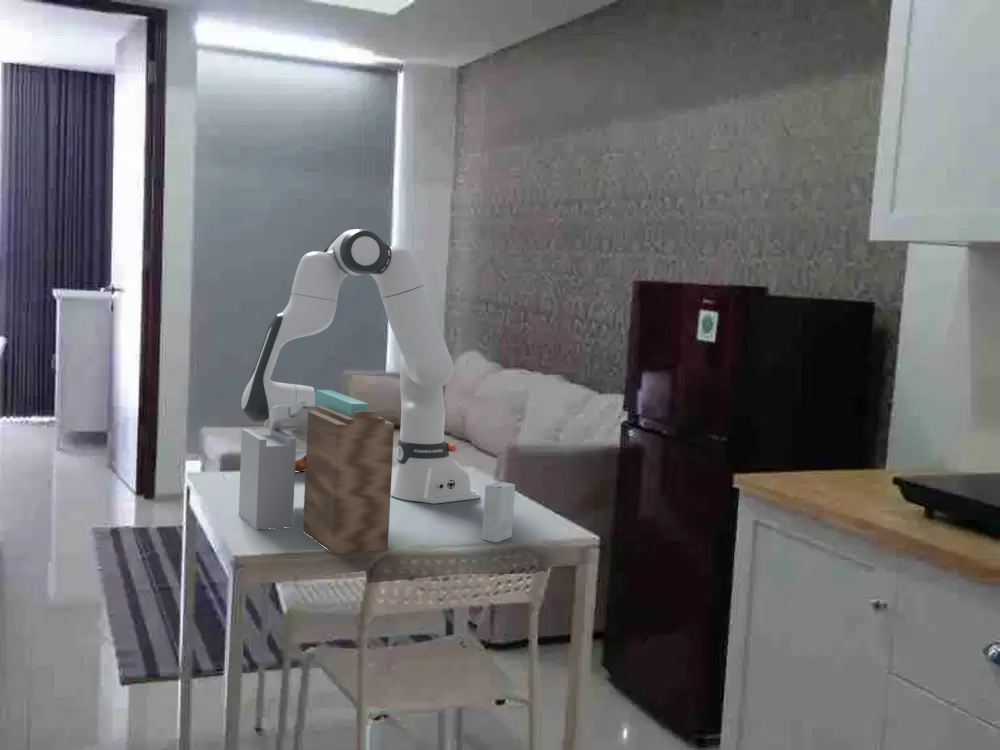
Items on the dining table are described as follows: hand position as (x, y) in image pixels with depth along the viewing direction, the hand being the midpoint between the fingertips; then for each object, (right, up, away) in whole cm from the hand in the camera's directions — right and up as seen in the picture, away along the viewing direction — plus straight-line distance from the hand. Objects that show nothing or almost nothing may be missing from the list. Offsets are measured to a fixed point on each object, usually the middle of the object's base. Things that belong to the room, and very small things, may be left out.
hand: (324, 403), depth 227 cm
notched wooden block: (+6, -28, -11) cm, 31 cm away
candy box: (-19, -20, +56) cm, 62 cm away
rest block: (-13, -26, +1) cm, 29 cm away
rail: (+5, -2, -8) cm, 10 cm away
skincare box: (+38, -30, -2) cm, 48 cm away
